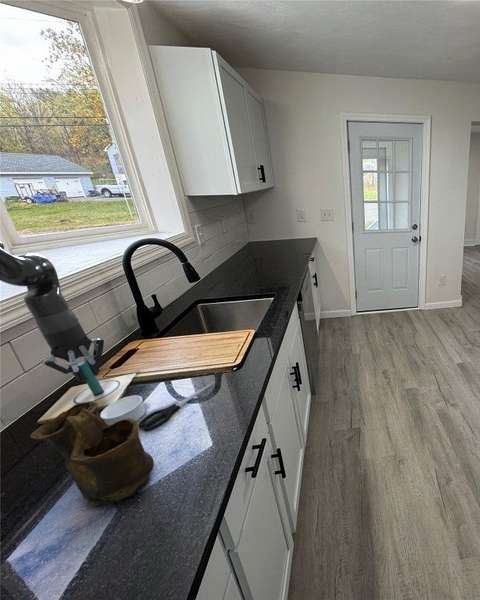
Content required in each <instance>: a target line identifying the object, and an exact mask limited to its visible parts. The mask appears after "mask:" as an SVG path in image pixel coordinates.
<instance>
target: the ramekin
mask: <svg viewBox="0 0 480 600" xmlns="http://www.w3.org/2000/svg"><path fill="white" fill-rule="evenodd" d="M145 413H146V408H145V404H144V401H143V397H142V396H140V395H129V396H125V397H122V398H121V399H120V400H117V401H115V402H113V403H112V404H110V405H109V406H107V407H106V408H105V409H102V411H101V412H100V413H99V415H100V417H101V419H102V421H103V422H105V423H106V424H114V423H115V422H118V421H120V420H122V419H126V418H133V420H134V419H135V421H136V422H137V421H139V420H140V419H141V418H142V417H143V416H144V415H145Z"/></svg>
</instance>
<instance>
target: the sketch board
mask: <svg viewBox="0 0 480 600" xmlns="http://www.w3.org/2000/svg"><path fill="white" fill-rule="evenodd" d="M136 375H137V372H134V373H130V374H124V375H120V376H115V377H111V378H107V379H102V380H98V381H99V383H100V385H101V386H102V388H103V390H104V393H102V394H101V395H98V396H94V395H93V393H92V391H91V390H90V388H89V386H88V385H87V383H83V384H79V385H75V386H71V387H70V388H69V389H67V391H66V392H65V393H64V394H63V395H61V397H60V398H59V399H58V400H57V401H56V402H55V403H54V404H53V405H52V406H51V407H50V408H49V409H48V410H47V411H46V412H45V413H44V414H43V415H42V416H41V417H40V418H39V419H38V420H37V421H36V423H37V424H38V425H44V424H45V422H46V421H47V420H48V421H51V420H53V419H55V418H56V417H57V416H58V415H59V414H61V413H62V412H64V411H67V410H69V409H70V408H72V407H73V406H74V405H76V404H79V403H83V402H88V401H93V402H97V403H98V411H100V410H104V409H105V408H106V407H107V406H109V405H110V404H112V403H113V402H115V401H117V400H120V399H122V398H124V396H125V394H126V393H127V391H128V390H129V388H127V387H128V385H130V383H131V381H132V380H133V379H134V378H135V376H136Z"/></svg>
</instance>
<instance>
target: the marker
mask: <svg viewBox="0 0 480 600" xmlns="http://www.w3.org/2000/svg"><path fill="white" fill-rule="evenodd" d="M77 366H78V368H79V370H81V371H82V373H83V375H84V377H85V378H86V381H85V384H87V385H88V386H89V388H90V390H91V391H92V393H93V395H94V396H98V395H101V394H102V393H104V390H103V388H102V386H101V385H100V383H99V381H100V380H98V378H97V375H96V376H95V374H94V372H93V371H92V369H91V367H90V365H89V364H88V362H87V361H85V360H84V361H81V362H78V363H77Z"/></svg>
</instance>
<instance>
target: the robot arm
mask: <svg viewBox="0 0 480 600" xmlns="http://www.w3.org/2000/svg"><path fill="white" fill-rule="evenodd" d="M0 282H2V283H5V284H7V285H11V286H15V287H26V289H27V293H26V294H25V296H24V297H23V302H24V304H25V307H26V308H27V310H28V312H29V313H30V314H31V316H32V319H33V320H34V323H35V325H36V327H37V329H38V330H39V332H40V333H41V335H42V336H43V338H44V340H45V341H46V343H47V345H48V347H49V348H50V356H48V357H47V358H46V359H43V360H42V361H41V364H42V365H44V366H46V367H49V368H51V369H53V370H56V371H58V372H60V373H62V374H64V375H68V374H69V373H72V375H73V376H74V378H75V379H76V380H77V381H78V382H79V381H80V382H83V383H84V382H86V378H85V377H84V375H83V373H82V371H81V370H79V368H78V366H77V364H78V361H77V359H79V358H83V359H84V361H87V362H88V364H89V365H90V367H91V369H92V371H93V372H94V374H95V376H96V377H97V376H98V375H99V373H100V372H101V370H100V368H99V366H98V364H97V362H98V361H99V360H101V359H102V357H103V352H104V344H105V340H104V339H102V338H98V337H97V338H95V339H93V338H92V339H91V338H90V337H89V336H87V334H86V332H85V331H84V328H83V327H82V325H81V323H80V322H79V318H78V317H77V316H76V314H75V313H74V311H73V310H72V309H71V307H70V306H69V304H68V302H67V300H66V298H65V297H64V295H63V293H62V290H61V285H60V280H59V276H58V273H57V270H56V268H55V266H54V265H53V263H52V262H51V261H50V259H48V258H47V257H45V256H43V255H42V254H38V253H25V254H20V255H18V256H14V255H12V254H10V253H9V252H7V251H5V245H4V243H3V242H2V241H0ZM91 345H92V347H93V352H92V354H91V353H90V352H89V351H90V348H91ZM56 358H57V359H60V360H64V361H65V363H66V364H67V367H64V366H61V365H60V364H57V363H58V360H57V359H56Z"/></svg>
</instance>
